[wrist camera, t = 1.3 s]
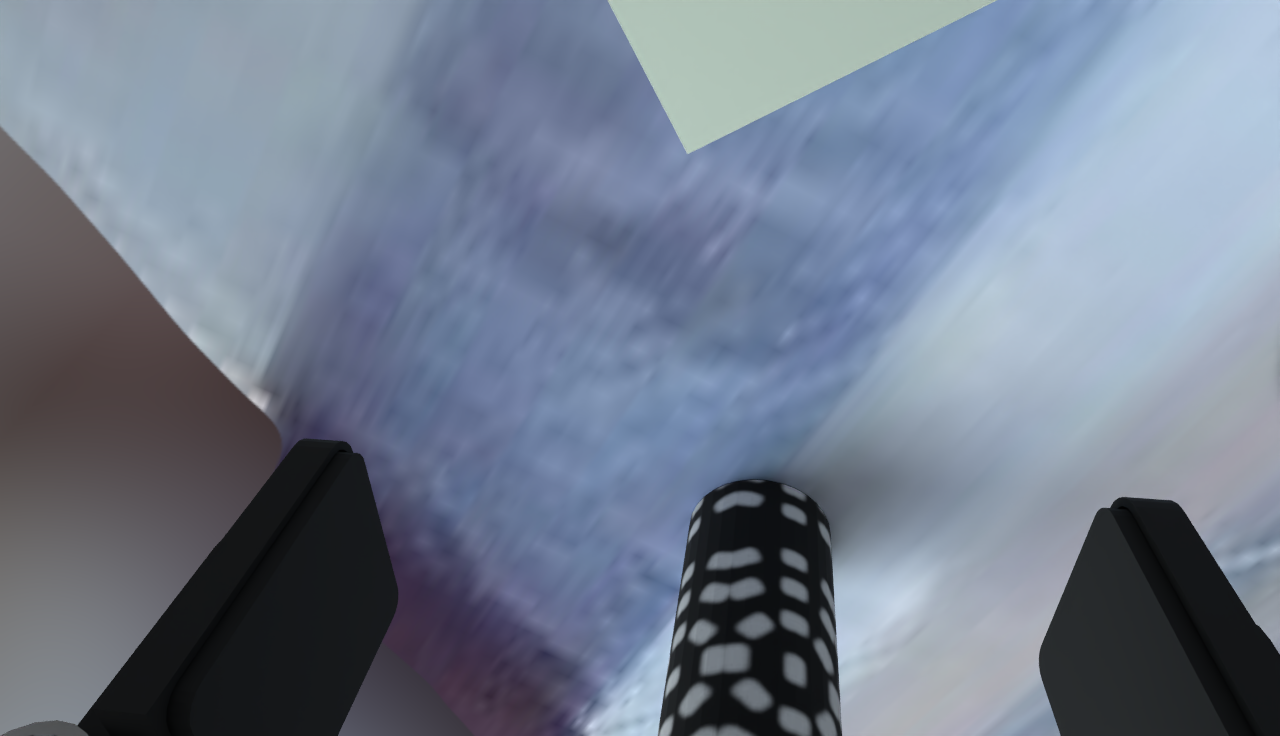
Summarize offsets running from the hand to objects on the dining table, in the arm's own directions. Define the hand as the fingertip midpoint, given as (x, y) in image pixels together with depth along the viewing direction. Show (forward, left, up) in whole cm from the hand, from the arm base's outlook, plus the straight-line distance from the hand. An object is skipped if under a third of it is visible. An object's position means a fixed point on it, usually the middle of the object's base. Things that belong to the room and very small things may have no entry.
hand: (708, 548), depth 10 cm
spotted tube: (+11, +24, -28) cm, 38 cm away
